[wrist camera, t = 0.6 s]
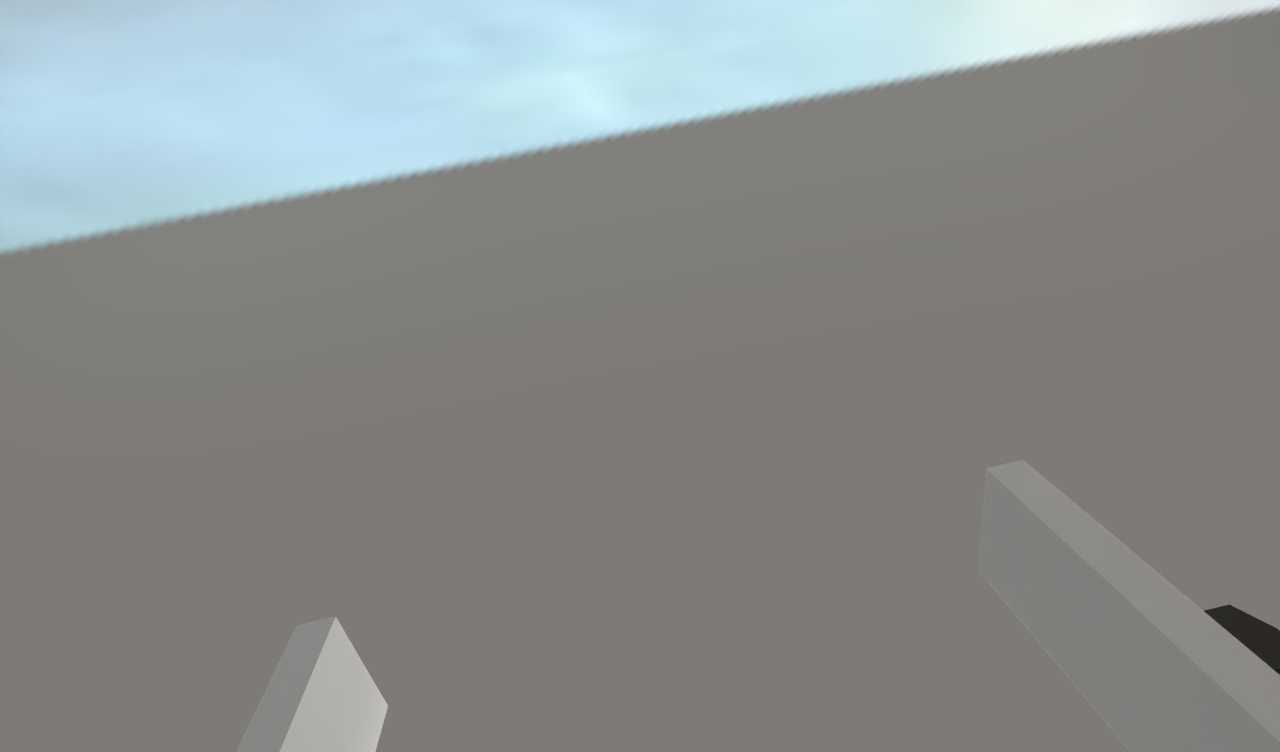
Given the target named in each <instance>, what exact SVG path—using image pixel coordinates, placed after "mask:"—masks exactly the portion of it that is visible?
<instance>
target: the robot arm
mask: <svg viewBox="0 0 1280 752" xmlns="http://www.w3.org/2000/svg"><path fill="white" fill-rule="evenodd" d="M978 571H979V572H980V573H981V574H982V576H983V577H984V578H985V579H986V580H987V582H988V583H989V584H990V585H991V586H992V588H993V589H994V590H995V591H996V592H997V594H998V595H999V596H1000V597H1001V598H1002V599H1003V601H1004V602H1005V603H1006V604H1007V605H1008V607H1009V608H1010V609H1011V610H1012V611H1013V613H1014V614H1015V615H1016V616H1017V617H1018V618H1019V620H1020V621H1021V622H1022V623H1023V624H1024V626H1025V627H1026V628H1027V629H1028V631H1029V632H1030V633H1031V634H1032V635H1033V637H1034V638H1035V639H1036V640H1037V641H1038V642H1039V644H1040V645H1041V646H1042V647H1043V648H1044V650H1045V651H1046V652H1047V653H1048V654H1049V656H1050V657H1051V658H1052V659H1053V660H1054V662H1055V663H1056V664H1057V665H1058V666H1059V667H1060V669H1061V670H1062V671H1063V672H1064V674H1065V675H1066V676H1067V677H1068V678H1069V679H1070V681H1071V682H1072V683H1073V684H1074V685H1075V686H1076V688H1077V689H1078V690H1079V691H1080V692H1081V694H1082V695H1083V696H1084V697H1085V699H1086V700H1087V701H1088V702H1089V703H1090V705H1091V706H1092V707H1093V708H1094V709H1095V710H1096V712H1097V713H1098V714H1099V715H1100V716H1101V718H1102V719H1103V720H1104V721H1105V722H1106V724H1107V725H1108V726H1109V727H1110V728H1111V730H1112V731H1113V732H1114V733H1115V734H1116V736H1117V737H1118V738H1119V739H1120V740H1121V742H1122V743H1123V744H1124V745H1125V746H1126V747H1127V749H1128V750H1129V751H1130V752H1280V631H1279V630H1278V629H1276V628H1275V627H1273V626H1271V625H1269V624H1267V623H1265V622H1263V621H1261V620H1258V619H1257V618H1255V617H1253V616H1251V615H1249V614H1246V613H1245V612H1243V611H1241V610H1239V609H1237V608H1235V607H1233V606H1231V605H1226V606H1222V607H1218V608H1213V609H1209V610H1205V611H1203V610H1202V609H1200V608H1199V607H1198V606H1197V605H1196V604H1194V603H1193V602H1192V601H1191V600H1190V599H1189V598H1187V597H1186V596H1185V595H1184V594H1183V593H1181V592H1180V591H1179V590H1178V589H1177V588H1175V587H1174V586H1173V585H1172V584H1171V583H1169V582H1168V581H1167V580H1166V579H1165V578H1163V577H1162V576H1161V575H1160V574H1158V572H1156V571H1155V570H1154V569H1153V568H1152V567H1150V566H1149V565H1148V564H1147V563H1145V562H1144V561H1143V560H1142V559H1141V558H1140V557H1138V556H1137V555H1136V554H1135V553H1134V552H1132V551H1131V550H1130V549H1129V548H1128V547H1126V546H1125V545H1124V544H1123V543H1122V542H1121V541H1119V540H1118V539H1117V538H1116V537H1115V536H1113V535H1112V534H1111V533H1110V532H1108V531H1107V530H1106V529H1105V528H1104V527H1103V526H1101V525H1100V524H1099V523H1098V522H1097V521H1095V520H1094V519H1093V518H1092V517H1091V516H1090V515H1088V514H1087V513H1086V512H1085V511H1083V510H1082V509H1081V508H1080V507H1079V506H1077V505H1076V504H1075V503H1074V502H1073V501H1071V500H1070V499H1069V498H1068V497H1067V496H1066V495H1064V494H1063V493H1062V492H1061V491H1060V490H1058V489H1057V488H1056V487H1055V486H1054V485H1052V484H1051V483H1050V482H1049V481H1048V480H1047V479H1045V478H1044V477H1043V476H1042V475H1041V474H1039V473H1038V472H1037V471H1036V470H1035V469H1033V468H1032V467H1031V466H1030V465H1029V464H1027V463H1026V462H1025V461H1024V460H1021V461H1017V462H1013V463H1008V464H1004V465H999V466H995V467H991V468H987V469H986V478H985V490H984V501H983V514H982V526H981V538H980V550H979V562H978ZM387 707H388V705H387V704H386V702H385V700H384V699H383V697H382V695H381V694H380V692H379V690H378V688H377V687H376V685H375V683H374V681H373V680H372V678H371V677H370V675H369V673H368V671H367V670H366V668H365V666H364V664H363V663H362V661H361V659H360V658H359V656H358V654H357V652H356V651H355V649H354V647H353V646H352V644H351V642H350V640H349V639H348V637H347V635H346V634H345V632H344V630H343V629H342V627H341V625H340V623H339V622H338V620H337V618H336V617H332V618H327V619H323V620H319V621H314V622H310V623H305V624H301V625H297V626H296V628H295V630H294V632H293V634H292V637H291V639H290V641H289V643H288V645H287V647H286V649H285V651H284V653H283V656H282V657H281V660H280V662H279V664H278V666H277V668H276V670H275V672H274V674H273V676H272V678H271V680H270V683H269V685H268V687H267V689H266V691H265V693H264V695H263V697H262V700H261V701H260V703H259V706H258V708H257V710H256V712H255V714H254V716H253V719H252V720H251V722H250V724H249V726H248V729H247V731H246V733H245V735H244V737H243V739H242V741H241V743H240V746H239V748H238V750H237V752H375V751H376V747H377V744H378V740H379V737H380V733H381V729H382V725H383V722H384V718H385V715H386V711H387Z"/></svg>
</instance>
